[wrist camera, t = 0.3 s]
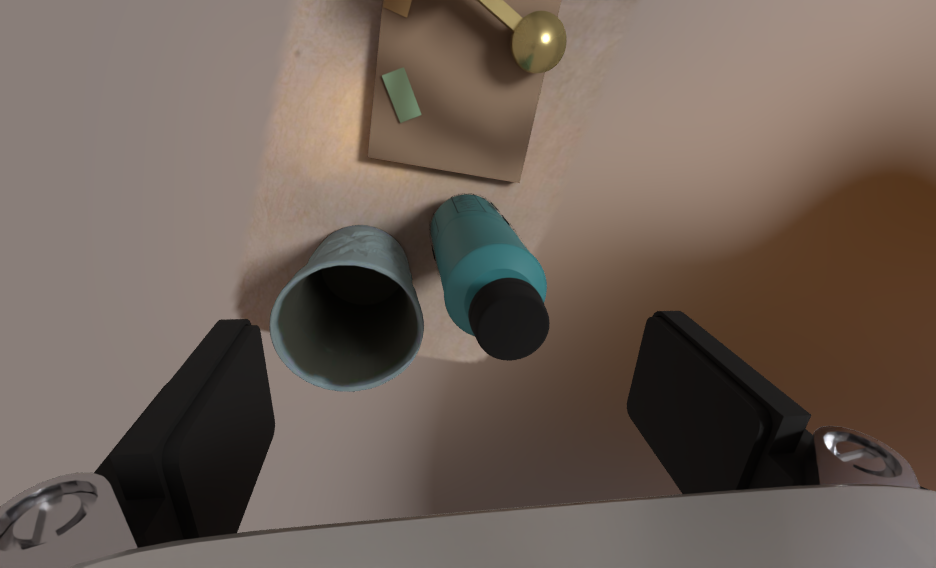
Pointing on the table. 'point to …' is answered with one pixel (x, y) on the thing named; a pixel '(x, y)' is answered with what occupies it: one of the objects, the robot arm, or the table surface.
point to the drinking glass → (349, 313)
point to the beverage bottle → (489, 278)
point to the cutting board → (453, 88)
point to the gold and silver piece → (531, 36)
